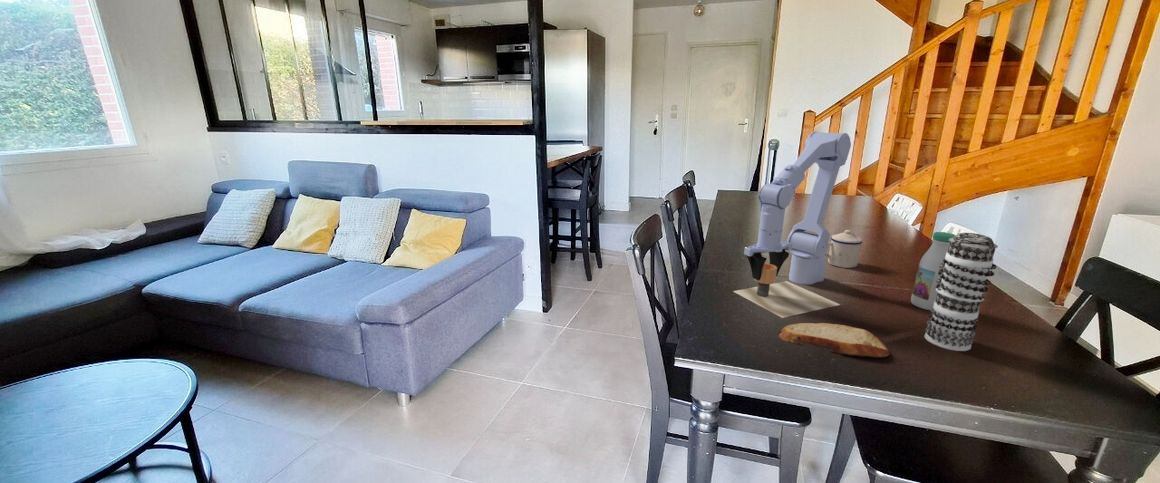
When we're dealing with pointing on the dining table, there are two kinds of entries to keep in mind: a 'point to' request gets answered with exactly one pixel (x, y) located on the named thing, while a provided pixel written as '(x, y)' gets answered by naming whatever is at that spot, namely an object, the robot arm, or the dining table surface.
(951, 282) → the decorative candle
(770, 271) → the sleeve
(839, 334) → the slice of bread
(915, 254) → the dining table surface
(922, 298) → the milk bottle
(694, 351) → the dining table surface
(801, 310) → the board
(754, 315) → the dining table surface
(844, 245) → the teacup with lid
